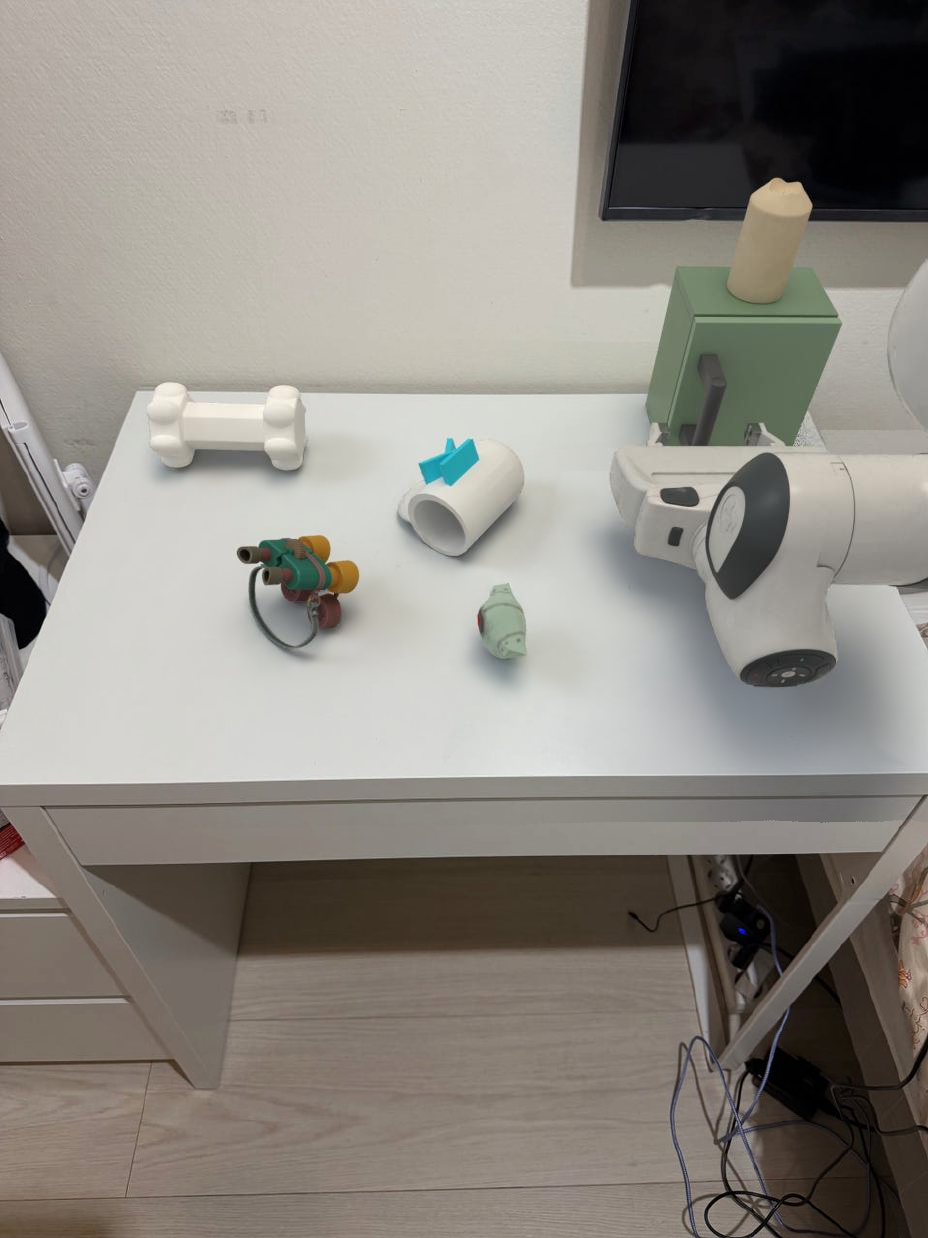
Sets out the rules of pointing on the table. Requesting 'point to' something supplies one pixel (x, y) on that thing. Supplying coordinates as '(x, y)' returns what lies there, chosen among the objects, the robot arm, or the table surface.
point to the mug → (462, 493)
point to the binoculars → (301, 579)
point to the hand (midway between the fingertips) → (705, 428)
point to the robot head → (502, 624)
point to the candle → (769, 241)
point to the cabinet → (711, 298)
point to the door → (748, 377)
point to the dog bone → (227, 426)
